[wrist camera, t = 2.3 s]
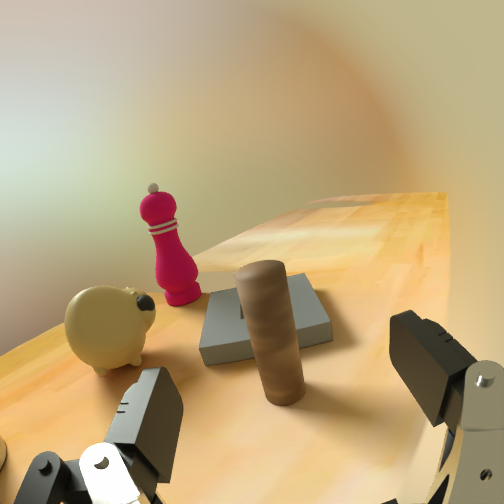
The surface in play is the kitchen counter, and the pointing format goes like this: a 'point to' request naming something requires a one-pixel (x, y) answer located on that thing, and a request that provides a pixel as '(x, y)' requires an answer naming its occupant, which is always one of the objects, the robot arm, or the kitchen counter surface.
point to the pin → (271, 329)
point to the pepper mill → (169, 249)
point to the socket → (235, 330)
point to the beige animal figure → (109, 326)
